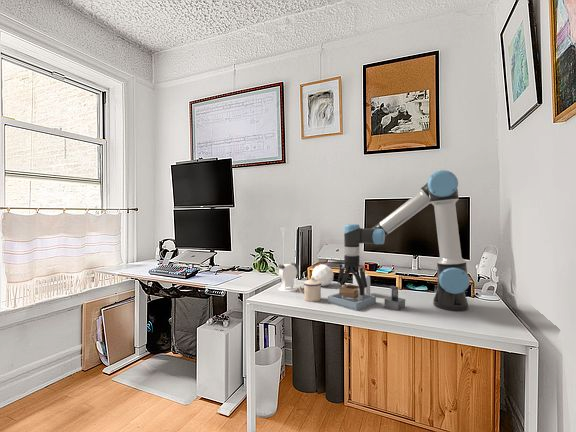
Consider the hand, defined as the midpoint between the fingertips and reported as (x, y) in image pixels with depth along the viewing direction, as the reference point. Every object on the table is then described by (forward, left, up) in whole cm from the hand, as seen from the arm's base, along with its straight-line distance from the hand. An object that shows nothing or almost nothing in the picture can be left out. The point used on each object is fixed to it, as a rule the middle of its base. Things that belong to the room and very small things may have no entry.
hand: (351, 299), depth 159 cm
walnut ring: (0, 0, +2) cm, 2 cm away
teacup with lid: (+20, +10, -2) cm, 22 cm away
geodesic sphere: (+34, -17, -2) cm, 38 cm away
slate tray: (0, 0, -2) cm, 2 cm away
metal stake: (-18, -9, -2) cm, 21 cm away
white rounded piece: (+43, +4, -2) cm, 43 cm away
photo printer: (+6, -17, -2) cm, 18 cm away
